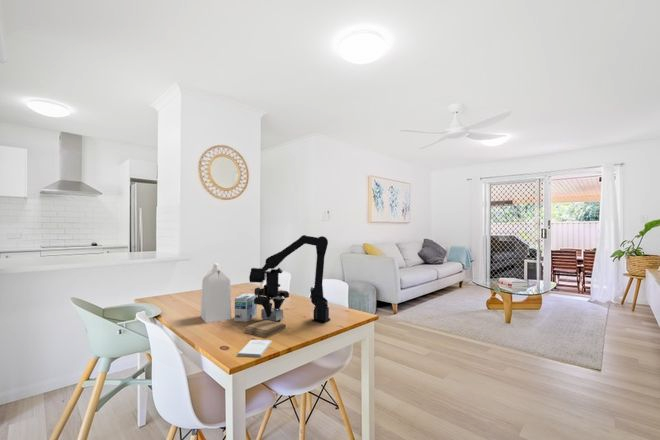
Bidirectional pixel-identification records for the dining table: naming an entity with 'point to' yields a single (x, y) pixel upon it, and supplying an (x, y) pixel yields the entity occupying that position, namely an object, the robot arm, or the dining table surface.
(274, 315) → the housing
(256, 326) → the tray
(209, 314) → the milk
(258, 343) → the external hard drive
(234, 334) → the dining table surface
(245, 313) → the light bulb box
